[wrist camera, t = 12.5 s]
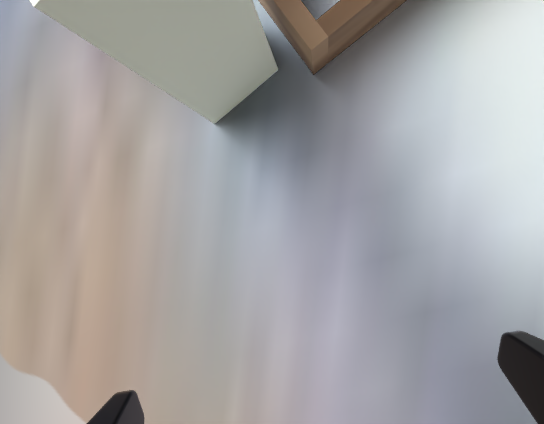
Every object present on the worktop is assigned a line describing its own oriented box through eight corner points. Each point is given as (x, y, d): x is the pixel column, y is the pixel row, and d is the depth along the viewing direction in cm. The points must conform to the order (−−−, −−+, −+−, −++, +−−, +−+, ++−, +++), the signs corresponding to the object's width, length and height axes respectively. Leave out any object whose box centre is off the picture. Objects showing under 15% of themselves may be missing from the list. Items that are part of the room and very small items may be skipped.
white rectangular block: (278, 70, 18) (191, -162, 6) (214, 124, 19) (34, 6, 7) (248, 31, 18) (111, -263, 7) (186, 86, 19) (-33, -88, 8)
